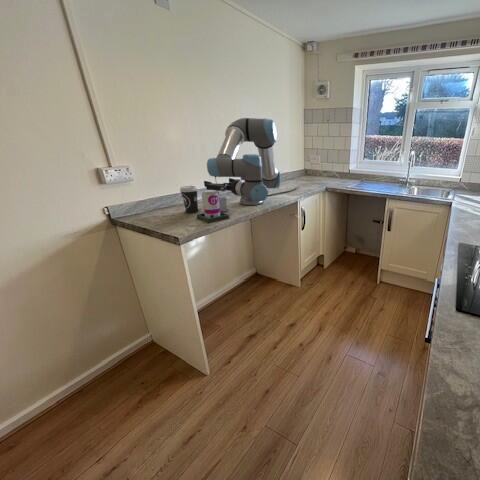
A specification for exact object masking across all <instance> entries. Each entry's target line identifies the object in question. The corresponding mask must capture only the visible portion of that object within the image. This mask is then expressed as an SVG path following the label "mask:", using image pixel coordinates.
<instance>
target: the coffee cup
mask: <svg viewBox="0 0 480 480" xmlns="http://www.w3.org/2000/svg"><path fill="white" fill-rule="evenodd" d="M179 192H180V193H181V198H182V201H183V205H184V209H185V212H186V213H188V214H195V213H198V212H199V205H198V204H199V203H198V188H197V186H195V185H183V186H180V188H179Z"/></svg>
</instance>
